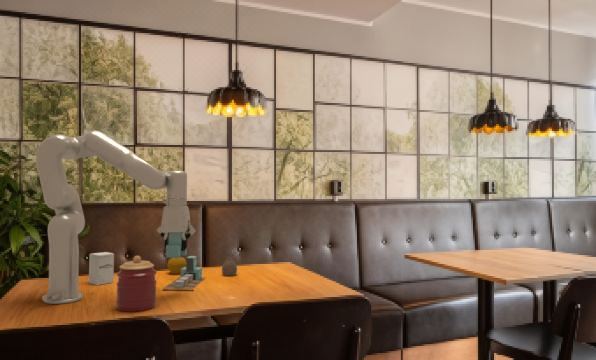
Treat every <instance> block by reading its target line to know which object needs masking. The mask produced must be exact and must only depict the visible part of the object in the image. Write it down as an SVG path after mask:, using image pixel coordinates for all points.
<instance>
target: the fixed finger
mask: <svg viewBox="0 0 596 360" xmlns="http://www.w3.org/2000/svg"><path fill="white" fill-rule="evenodd" d="M197 258H198V257H197V255H189V256H187V257H186V259H185V260H186V267H184V268H182V269H181V274H180V277H183V276H184V275H186V274H187V273H196V280H200V279H201V278H202V277H203V267H199V266H197V265H198V262H197Z"/></svg>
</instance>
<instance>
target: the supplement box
mask: <svg viewBox="0 0 596 360" xmlns="http://www.w3.org/2000/svg"><path fill="white" fill-rule="evenodd" d="M88 258H89V261H88V264H89V266H88V267H89V268H88V283H89V284H91V285H95V286H99V285H100V286H101V285H105V284H111V283H112V284H113V283H114V275H115V274H114V273H115V272H114V270H115V269H114V267H115V266H114V265H115V253H113V252H109V251H104V252H94V253H89V256H88Z"/></svg>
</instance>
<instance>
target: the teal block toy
mask: <svg viewBox="0 0 596 360" xmlns="http://www.w3.org/2000/svg"><path fill="white" fill-rule="evenodd" d="M182 240H183V238H182V233H168V235H167V245H166V248H165V258H169V259H171V258H180V257H181V256H187V254H188V253H187V250H188V247H187V248H186V250H184V251H182V250H181V241H182Z"/></svg>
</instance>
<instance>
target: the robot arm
mask: <svg viewBox="0 0 596 360" xmlns="http://www.w3.org/2000/svg"><path fill="white" fill-rule="evenodd" d="M35 152H36V153H35V164H36V168H37V174H38V176H39V182H40V186H41V192H42V196H43V199H44V200H43V201H44V203H45V205H46V207H48V208H49V209H51V210H54V212H55V215H54V216H53V217H52V218H51V219H50V220H49V222H48V226H47V237H48V261H49V262H48V290H47V294H44V295H42V296H41V300H42V301H43V302H44V303H45V304H51V305H57V304H58V305H60V304H69V303H73V302H77V301H80V300H82V299H83V297H84V295H83V294H82V293H81V292H79V269H80V268H79V266H80V265H79V263H80V262H79V259H80V256H79V254H80V251H79V250H80V249H79V248H80V247H79V237H78V235H79V234H81V233H82V231H83V230H84V229H85V224H86V223H85V222H86V218H85V215H84V210H83V207H82V201H81V198H80V194H79V192H78V190H77V189H76V188H75V187H74V186H73V185H71V184H69V183H68V178H67V173H66V169H65V167H64V165H63V160H75V159H81V158H82V159H83V158H88V157H97V158H99V159H101V160H102V161H104V162H106V163H107V164H109V165H110V166H112V167H114V168H115V169H117V171H119V172H121V173H123V174H125V175H127V176H129V177H130V178H131V179H133V180H134V181H136V182H138V183H140V184H141V185H143V186H144V187H146V188H148V189H150V190H166V198H165V199H163V200H162V203H163V204H165V205H166V206H164V207H163V209H162V215H161V225H160V226H158V227H157V229H156V232H157V233H158V234H160V236H161V237H162V239H163V240H164V248H165V249H166V245H167V235H168V233H182V238H183V240H182V241H181V250H182V251H184V250H186V248H187V249H188V240H189V239H190V237H191V236H192V235H193V234H194V233H196V229H195V228H194V227H193V225H192V224H191V216H190V210H189V206H188V205H187V204H188V203H187V201H188V200H187V199H188V197H187V196H188V194H187V193H188V174H187V172H186V171H184V170H170V171H165V170H160V169H158V168H156V167H155V166H153V165H151V164H149V163H148V162H146V161H145V160H143V159H142V158H140V157H139V156H138V155H136V154H135V153H134V151H132V150H130V149H129V148H128V147H126V146H124V145H123V144H121V143H119V142H118V141H117V140H115V139H114V138H111V137H110V136H108V135H107V134H105V133H104V132H102V131H100V130H97V129H96V130H94V129H93V130H89V131H88V132H87V133H85V134H84V135H77V136H68V135H66V134H61V133H60V134H57V133H55V134H52V135H49V136H48V137H46V138H45V139H44V140H42V141H41V143H40V144H39V145H38V147H37V149H36V151H35Z"/></svg>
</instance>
